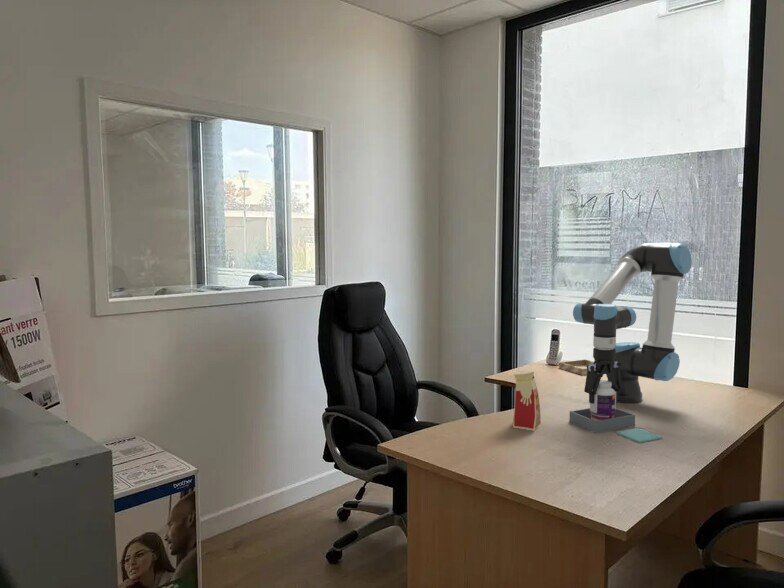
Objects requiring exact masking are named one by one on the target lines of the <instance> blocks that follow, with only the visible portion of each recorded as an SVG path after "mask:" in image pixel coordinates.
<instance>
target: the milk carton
mask: <svg viewBox="0 0 784 588" xmlns="http://www.w3.org/2000/svg"><path fill="white" fill-rule="evenodd" d="M534 373H535V371H534V370H533V371H529V372H526V373H517V374H512V375H513V376H514V378H515V379H514V380H515V393H514V394H515V395H514V409H513V410H514V411H513V420H512V427H513V429H518V428H519V430H525V429H526V431H531V430H532V431H531V432H535V431H536V430H537V429H538V428H539V427H540V425H541V424H542V421H541V420H542V419H541V418H542V415H541V404H540V398H539V396H540V395H539V392H538V387H537V382H536V378H535V376H534ZM538 426H539V427H538Z"/></svg>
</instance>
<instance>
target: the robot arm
mask: <svg viewBox="0 0 784 588" xmlns="http://www.w3.org/2000/svg"><path fill="white" fill-rule="evenodd" d="M692 259H693V258H692V254H691V251H690V248H689V247H688V245H686V244H684V243H679V242H644V243H641V244H638V245H636V246H635V247H633V248H631V249H629V250H628V251H627V252H625V253H624V254H623V255H622V256H621V258H619V260H618V261H617V264H616V265H617V266H616V267H614V270H613V271H612V272H610V274H609V275H608V277H607V278H606V279H605V280H604V281H603V282H602V284H600V285H599V287H598V288H597V289H596V290H595V292H593V294H592V295H591V297H590V298H588V300H587V301H586V302H585V303H584V302H579V303H577V304H575V306H574V307H573V310H572V316H573V319H574V320H575V322H577V323H582V324H585V325H586V324H587V325H593V342H592V343H593V345H592V346H593V347H594V348H593V349H592V350H593V351H592V357H593V359H594V361H593V362H594V364H593V365H587V366H586V368H587V375H586V378H585V384H584V390H583V391H584V393H586V394H588V403H589V408H590V411H591V412H594V413H597V395H596V391H597V388H598V385H599V383H600V380H602V378H603V377H604V375H606V378H607V380H606V381H610V382H611V383H612V386H611V388H612V389H614V391H615V409H616V408H617V402H618V403H628V404H630V403H639V402H641V401H643V392H642V391H641V385H640V383H639V377H640V378H646V379H651V380H655V381H661V382H669V381H670V380H672V379H674V377H675V376H676V374H677V373H678V370H679V368H680V360H681V359H680V355H679V354H678V353H677V352H675V351H676V350H675V349H676V348H675V346H674V345H673V343H672V338H673V337H672V336H673V330H674V322H675V321H674V320H675V313H676V305H677V298H678V297H677V296H678V289H679V282H681V281H682V280H684V277H685V275H686V274H688V273H689V272H690V271H691V269H692V264H693V260H692ZM644 272H651V274H650V276H651V277H652V279H653V280H654V285H653V292H652V300H651V307H650V314H649V315H650V317H649V323H648V333H647V339H646V340H645V341H644V342H643V343H642V347H641V345H640V343H639V342H635V341H634V342H633V341H630V342H629V341H625V342H617V330H620V329H626V328H629V327H631V326H633V325H634V324H635V323H636V321H637V313H636V311H635V310H634V309H633V308H632V307H630V306H620V307H619V306H616V305H615V304H614V303H613V302H614V301H615V300H616V299H617V298H618V296H619V295H620V294H621V293H622V292H623V290H624V289H625V288H626V287H627V285H628V284H629V283H630V282H631V280H633V279H634V278H636V277H638V276H639V275H640V274H641V273H644ZM598 373H599V374H598ZM592 390H593V391H592Z"/></svg>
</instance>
